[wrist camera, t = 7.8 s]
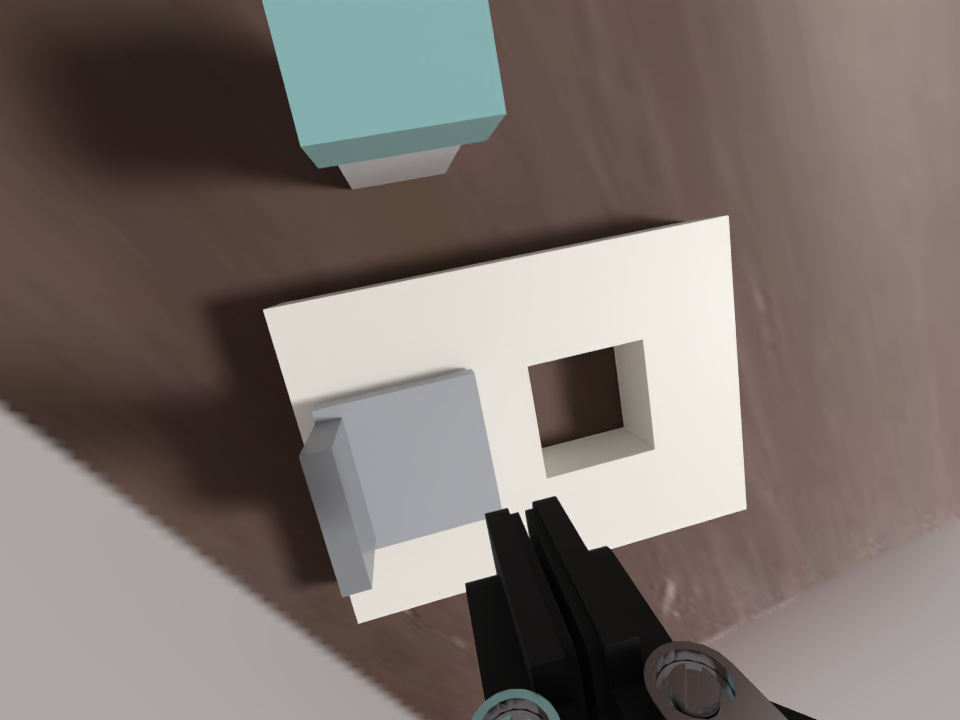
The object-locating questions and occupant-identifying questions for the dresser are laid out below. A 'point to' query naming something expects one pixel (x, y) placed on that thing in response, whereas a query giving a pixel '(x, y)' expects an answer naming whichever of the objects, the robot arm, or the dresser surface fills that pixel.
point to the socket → (508, 396)
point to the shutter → (397, 469)
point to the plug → (387, 82)
